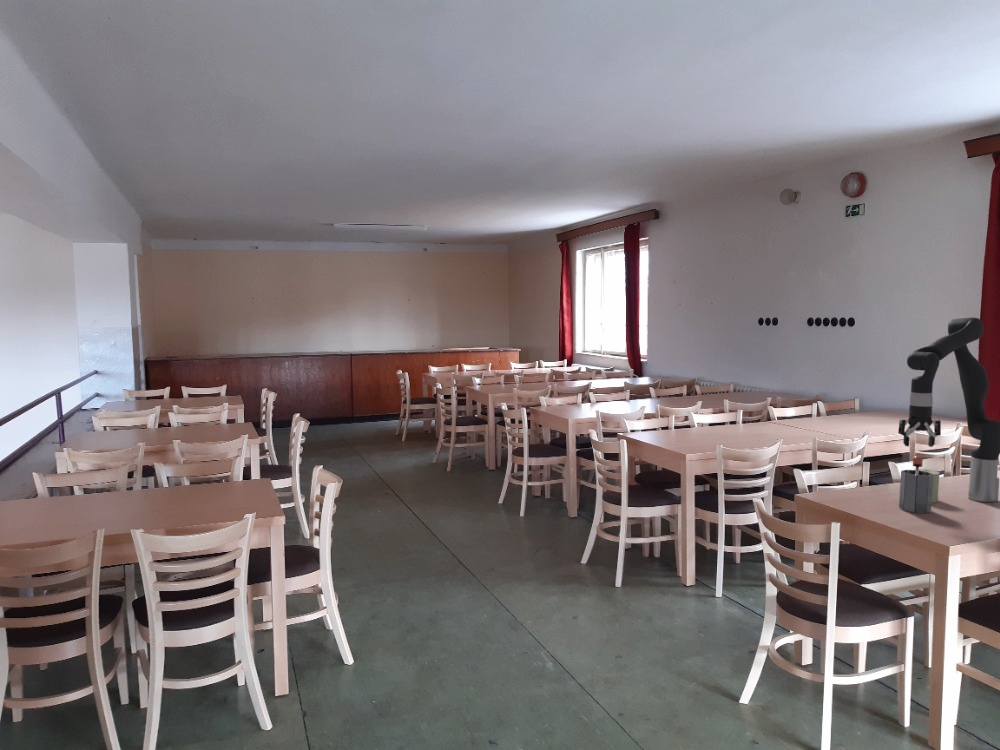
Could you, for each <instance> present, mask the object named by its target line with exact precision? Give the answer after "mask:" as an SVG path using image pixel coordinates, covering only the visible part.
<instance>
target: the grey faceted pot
mask: <svg viewBox="0 0 1000 750" xmlns="http://www.w3.org/2000/svg"><path fill="white" fill-rule="evenodd" d="M915 473H916V469H903V470H900V481H899V483H900V485H899V499H898V500H899V501H898V502H899V503H898V507H899V509H900V510H901V511H904V512H908V513H911V514H912V513H914V514H929V513H931V512H932V503H933V502H932V487H933V474H931V473H929V472H925V471H919V473H918V475H915Z"/></svg>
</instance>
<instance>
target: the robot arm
mask: <svg viewBox="0 0 1000 750" xmlns="http://www.w3.org/2000/svg"><path fill="white" fill-rule="evenodd" d="M984 331H985V326H984V322H983V321H982V320H981V319H980V318H977V317H962V318H954V319H951V320H950V321H949V322H948V325H947V333H948V334H947V335H944V336H941V337H940V338H938V339H936V340H935V341H932V342H931V343H930V344H928V345H927V346H926V345H925V346H923V347H920V348H918V349H915V350H914V351H912V352H911V353H910V354H908V356H907V360H906V364H907V366H908V367H909V369H911V370H913V371H914V370H916V371H924V372H923V374H922V375H919V376H914V377H912V379H911V382H910V383H911V384H910V385H911V388H910V396H909V404H908V405H909V408H908V419H906V418H905V419H904V418H900V419H899V422H898V433H897V434H899V435H900V436H903V445H904V447H910V436H911V434H913V433H914V432H915V431H916V432H926V433H927V434H928V444H927V445H928V447H930V448H932V447H934V446H935V443H936V442H935V441H936V440H935V439H936V437H938V436H941V434H942V433H941V432H942V429H941V428H942V427H941V426H942V424H941V420H939V419H937V418H936V419H932V418H933V404H934V402H933V401H934V400H933V387H934V386H933V385H934V381H935V377H936V374H937V371H938V369H939V367H940V361H942V360H944V359H945V358H946V357H947V356H949V355H950V354H951V353H954V356H955V361H956V365H957V369H958V375H959V380H960V381H959V382H960V384H961V385H960V386H961V389H962V394H963V399H964V404H965V410H966V422H967V431H968V433H969V435H970V436H971V438H973V439H975V440H978V441H980V442H979V446H978V448H977V447H976V448H973V449H972V450H971V452H970V453H971V454H970V456H971V457H970V468H969V480H968V481H969V483H968V499H970V500H972V501H976V502H982V503H995V502H999V488H1000V478H999V477H998V469H999V468H998V467H999V457H1000V421H998V420H996V419H991V418H987V415H986V411H985V400H986V398H987V396H988V392H989V388H990V386H989V385H990V383H989V377H988V373H987V370H986V368H985V367H984V366H983V365H982V364H981V362H980V361H979V360H978V359H977V358H976V357H975V356H974V355H973V354H972V353H971V352H970V350H969V348H968V344H970V343H972V342H975V341H977V340H979V339H981V337H982V336H983V335H984V333H985V332H984ZM907 424H908V425H909V426H908V427H907V428H906V426H907ZM932 425H933V428H934V429H932V427H931V426H932ZM933 430H934V431H933Z"/></svg>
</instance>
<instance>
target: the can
mask: <svg viewBox="0 0 1000 750" xmlns="http://www.w3.org/2000/svg"><path fill="white" fill-rule="evenodd" d="M919 471H925V472H929V473H931V474H933V487H932V503H937V502H939V487H940V486H939V484H940V471H937V470H932V469H925V468H924V469H923V468H919Z"/></svg>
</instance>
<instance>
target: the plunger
mask: <svg viewBox="0 0 1000 750" xmlns="http://www.w3.org/2000/svg"><path fill="white" fill-rule="evenodd" d="M923 459H924V457H923V456H920V455H913V457H912V466H913V467H915V470H916V473H915V475H918V473H919V469H920V468H922V467H923V461H924V460H923Z"/></svg>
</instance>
